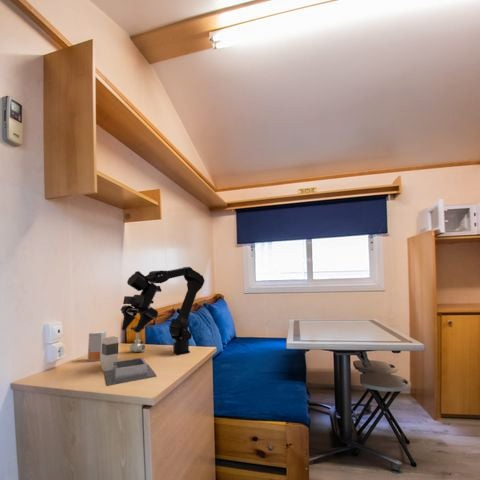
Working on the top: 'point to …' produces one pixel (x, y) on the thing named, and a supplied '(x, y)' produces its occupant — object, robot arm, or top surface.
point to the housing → (128, 371)
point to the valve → (137, 342)
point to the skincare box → (95, 346)
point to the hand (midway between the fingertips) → (129, 331)
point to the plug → (109, 352)
